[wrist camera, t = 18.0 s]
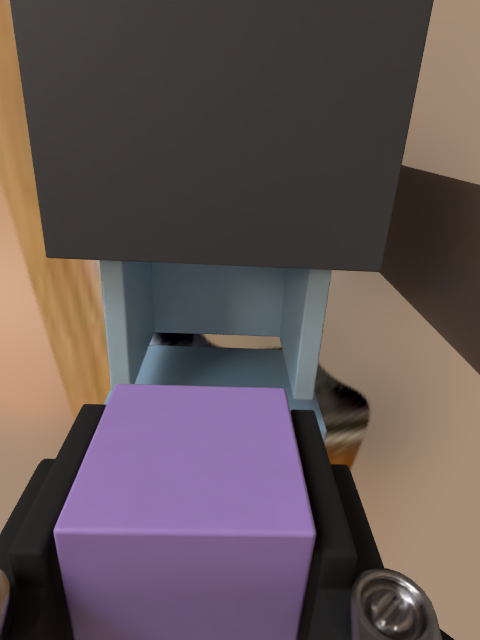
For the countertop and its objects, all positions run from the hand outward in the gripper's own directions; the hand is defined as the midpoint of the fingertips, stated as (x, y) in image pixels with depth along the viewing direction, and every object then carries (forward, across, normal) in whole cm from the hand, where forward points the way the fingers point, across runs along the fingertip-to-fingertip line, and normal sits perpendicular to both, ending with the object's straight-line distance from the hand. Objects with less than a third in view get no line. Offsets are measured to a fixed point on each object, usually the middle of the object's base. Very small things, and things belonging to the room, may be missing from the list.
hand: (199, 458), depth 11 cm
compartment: (+13, 0, -9) cm, 16 cm away
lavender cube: (0, 0, 0) cm, 0 cm away
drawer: (+12, 0, +2) cm, 13 cm away
